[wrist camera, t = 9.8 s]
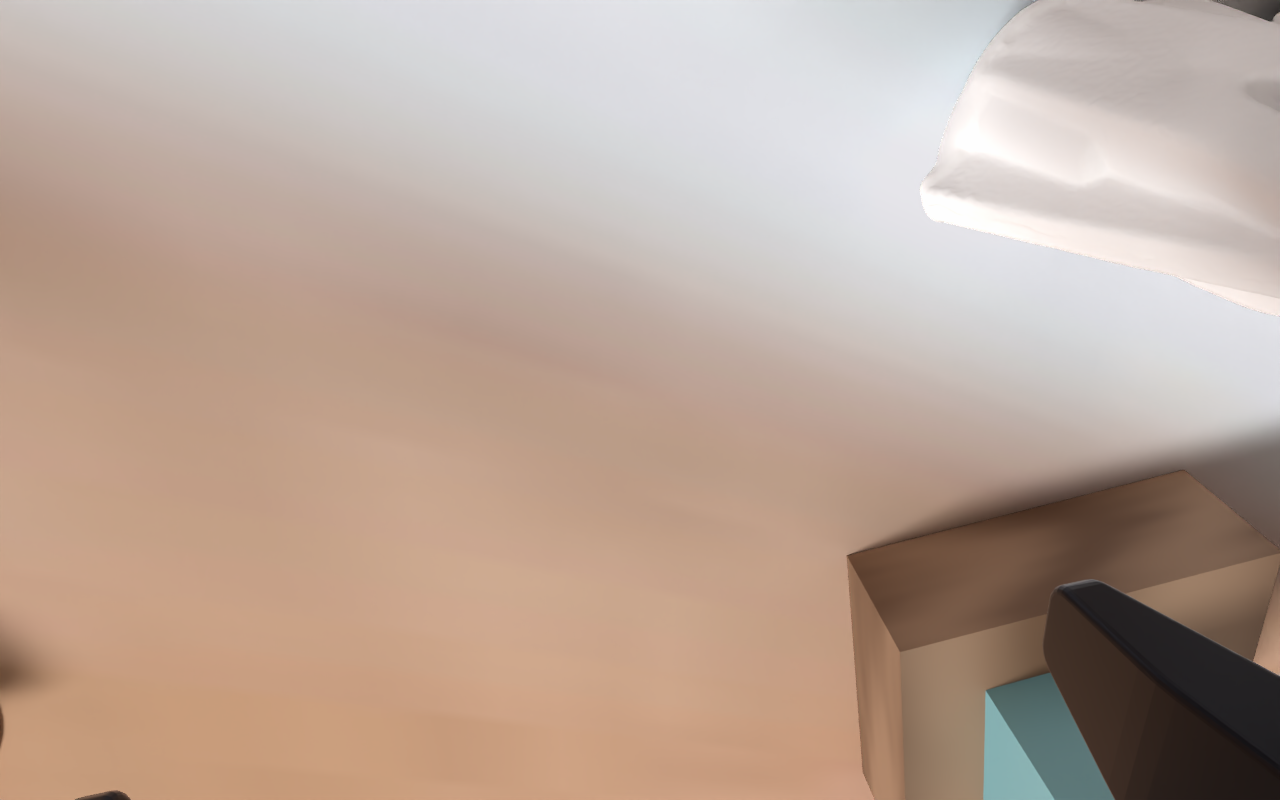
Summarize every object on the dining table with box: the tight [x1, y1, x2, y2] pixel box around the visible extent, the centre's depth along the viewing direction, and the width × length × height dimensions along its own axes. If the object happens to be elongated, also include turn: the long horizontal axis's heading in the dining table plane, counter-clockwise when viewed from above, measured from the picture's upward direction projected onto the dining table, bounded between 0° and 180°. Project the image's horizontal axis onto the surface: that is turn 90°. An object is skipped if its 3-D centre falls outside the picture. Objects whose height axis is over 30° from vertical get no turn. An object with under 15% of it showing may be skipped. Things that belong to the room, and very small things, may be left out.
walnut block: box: [847, 470, 1280, 800], centre depth 26 cm, size 10×10×4 cm
